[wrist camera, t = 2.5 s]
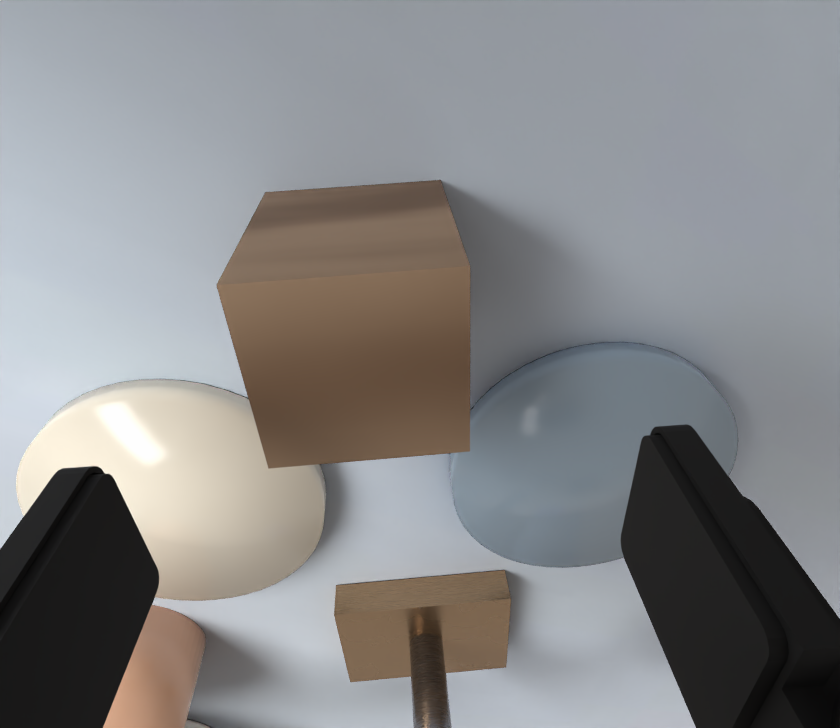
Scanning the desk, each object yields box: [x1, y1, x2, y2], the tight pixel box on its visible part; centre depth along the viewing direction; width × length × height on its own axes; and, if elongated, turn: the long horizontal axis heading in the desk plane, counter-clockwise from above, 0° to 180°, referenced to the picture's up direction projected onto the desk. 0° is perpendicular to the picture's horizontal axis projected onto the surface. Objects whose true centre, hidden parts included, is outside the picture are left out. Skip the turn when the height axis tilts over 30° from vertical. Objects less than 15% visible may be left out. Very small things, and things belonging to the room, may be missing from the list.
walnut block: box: [217, 180, 470, 469], centre depth 15 cm, size 5×5×6 cm
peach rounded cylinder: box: [103, 605, 206, 728], centre depth 25 cm, size 6×6×6 cm
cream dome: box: [16, 379, 326, 601], centre depth 22 cm, size 11×11×1 cm
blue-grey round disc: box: [449, 342, 738, 568], centre depth 22 cm, size 11×11×1 cm
